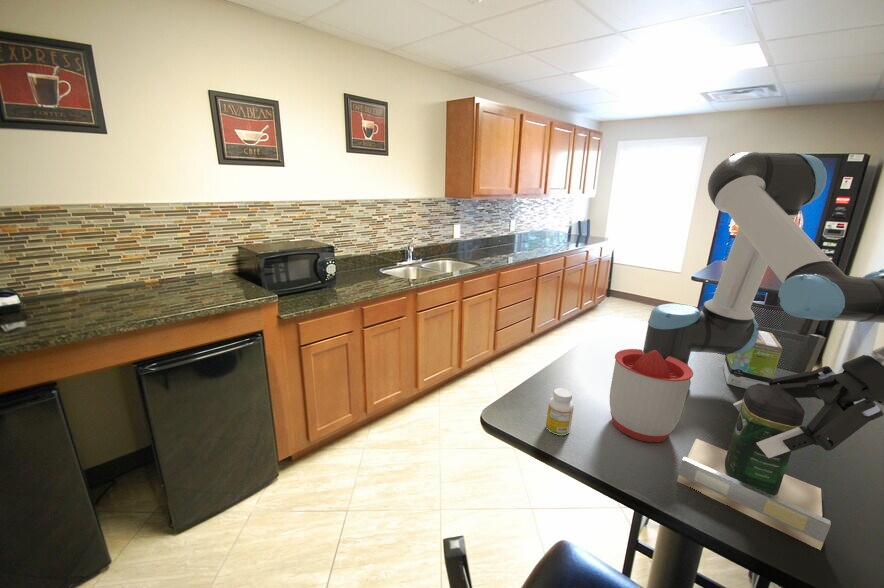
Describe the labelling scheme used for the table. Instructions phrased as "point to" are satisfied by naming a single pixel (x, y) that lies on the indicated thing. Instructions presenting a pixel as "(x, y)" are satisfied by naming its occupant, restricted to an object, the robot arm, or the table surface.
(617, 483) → the table surface
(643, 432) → the citrus juicer
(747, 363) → the tea box
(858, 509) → the table surface
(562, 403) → the supplement bottle
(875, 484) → the table surface
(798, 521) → the rail
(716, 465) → the shelf board
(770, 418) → the coffee jar
